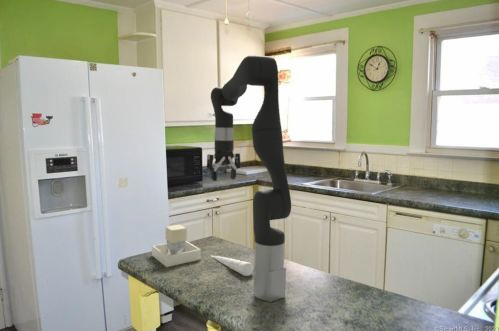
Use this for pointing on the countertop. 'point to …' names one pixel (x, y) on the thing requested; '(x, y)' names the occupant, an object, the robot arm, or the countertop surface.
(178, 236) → the carton
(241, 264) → the unicorn horn
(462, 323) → the countertop surface
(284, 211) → the robot arm
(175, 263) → the box
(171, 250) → the tin can
